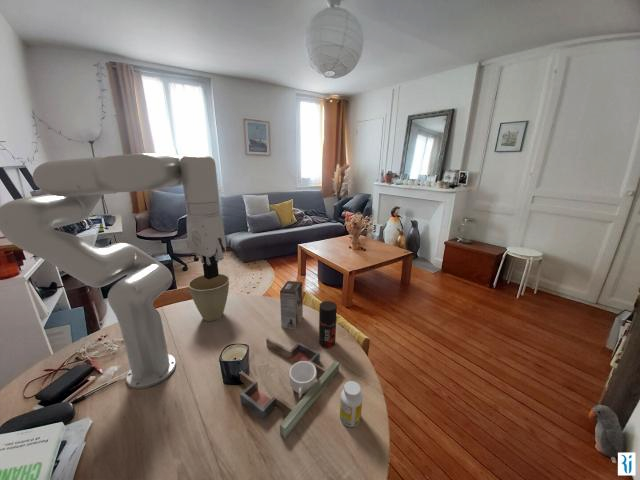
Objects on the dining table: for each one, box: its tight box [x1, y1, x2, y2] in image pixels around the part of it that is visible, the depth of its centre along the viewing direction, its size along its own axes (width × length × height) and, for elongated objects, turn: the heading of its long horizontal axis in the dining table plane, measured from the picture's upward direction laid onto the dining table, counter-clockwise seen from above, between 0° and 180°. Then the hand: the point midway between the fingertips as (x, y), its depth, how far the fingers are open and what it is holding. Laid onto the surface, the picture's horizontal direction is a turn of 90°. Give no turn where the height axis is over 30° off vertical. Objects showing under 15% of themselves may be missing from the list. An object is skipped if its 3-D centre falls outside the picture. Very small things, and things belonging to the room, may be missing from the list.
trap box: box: [239, 337, 340, 439], centre depth 76 cm, size 26×25×3 cm
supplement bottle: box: [339, 380, 363, 428], centre depth 63 cm, size 5×5×10 cm
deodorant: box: [318, 300, 338, 349], centre depth 89 cm, size 6×6×15 cm
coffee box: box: [279, 280, 304, 330], centre depth 100 cm, size 9×6×16 cm
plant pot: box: [188, 273, 230, 322], centre depth 103 cm, size 15×15×16 cm
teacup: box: [288, 361, 318, 399], centre depth 71 cm, size 10×8×5 cm
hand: (211, 276), depth 68 cm, fingers closed
